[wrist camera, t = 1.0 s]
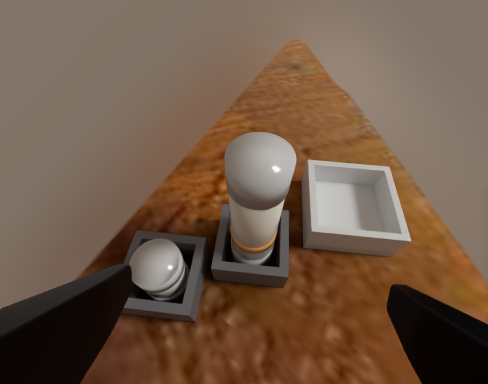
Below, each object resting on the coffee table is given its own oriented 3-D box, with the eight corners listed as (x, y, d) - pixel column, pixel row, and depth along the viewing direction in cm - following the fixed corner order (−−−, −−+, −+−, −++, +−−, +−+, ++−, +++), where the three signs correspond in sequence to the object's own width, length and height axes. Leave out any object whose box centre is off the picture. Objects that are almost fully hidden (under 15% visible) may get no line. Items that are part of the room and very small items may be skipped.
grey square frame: (283, 287, 22) (288, 277, 20) (214, 279, 22) (210, 268, 20) (284, 225, 26) (289, 210, 23) (224, 219, 26) (223, 204, 24)
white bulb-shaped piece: (270, 273, 23) (296, 188, 12) (228, 268, 23) (219, 181, 12) (272, 235, 25) (296, 134, 14) (234, 231, 25) (230, 129, 15)
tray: (390, 256, 24) (411, 241, 21) (303, 247, 24) (311, 231, 21) (374, 187, 29) (389, 166, 26) (301, 180, 29) (307, 159, 26)
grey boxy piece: (195, 322, 21) (189, 315, 18) (122, 313, 21) (106, 305, 18) (209, 251, 24) (206, 237, 22) (146, 244, 24) (136, 230, 22)
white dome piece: (185, 305, 21) (173, 291, 18) (141, 300, 21) (120, 285, 18) (195, 261, 23) (186, 241, 20) (155, 257, 24) (139, 236, 20)
